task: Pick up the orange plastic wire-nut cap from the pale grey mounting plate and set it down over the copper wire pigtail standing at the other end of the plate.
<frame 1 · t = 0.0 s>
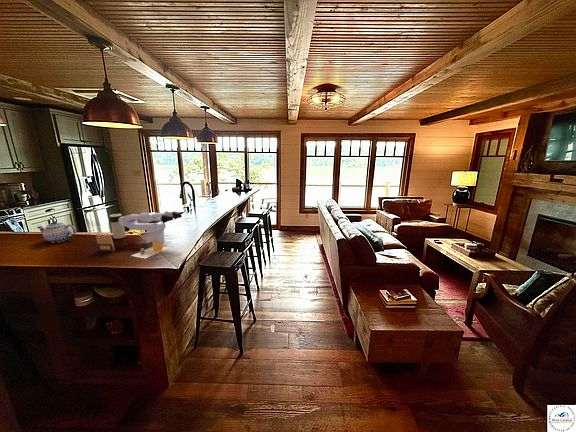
hand: (176, 217, 155), 22 cm above the countertop, tool horizontal, fingers open, 7 cm apart
teapot: (59, 240, 170), on the countertop
mounting plate: (151, 253, 148), on the countertop
travel mug: (119, 237, 178), on the countertop
wire nut cap: (158, 249, 151), point 1 cm above the countertop, touching mounting plate
tan upright slab: (106, 251, 153), on the countertop
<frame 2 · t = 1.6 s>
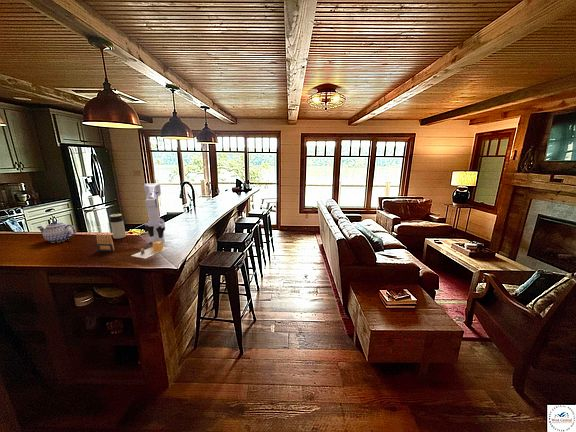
hand: (156, 237, 149), 10 cm above the countertop, tool pointing down, fingers open, 7 cm apart
nothing on the countertop moved.
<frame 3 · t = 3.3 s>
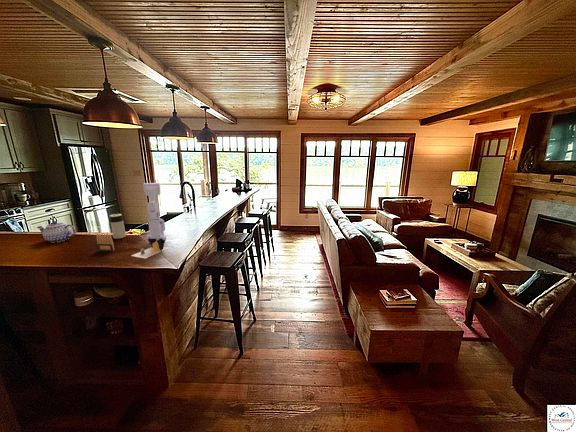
hand: (158, 248, 151), 2 cm above the countertop, tool pointing down, fingers closed on wire nut cap, 5 cm apart
wire nut cap: (158, 249, 151), point 1 cm above the countertop, touching gripper, mounting plate
everything else where it was.
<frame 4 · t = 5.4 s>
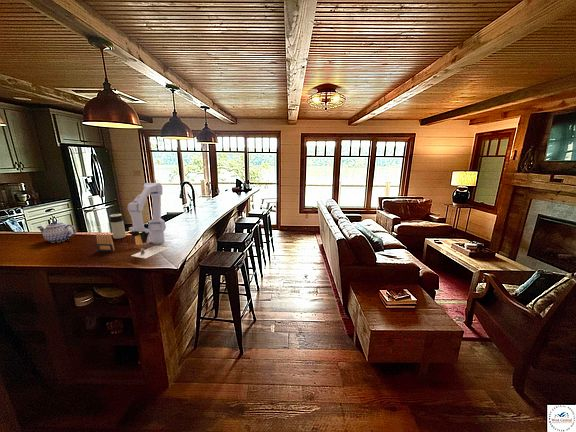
hand: (141, 242, 143), 9 cm above the countertop, tool pointing down, fingers closed on wire nut cap, 5 cm apart
wire nut cap: (141, 243, 143), point 9 cm above the countertop, touching gripper
everything else where it was.
when the fingers open (3 cm above the countertop, at t = 7.4 s): wire nut cap drops 1 cm, resting on mounting plate.
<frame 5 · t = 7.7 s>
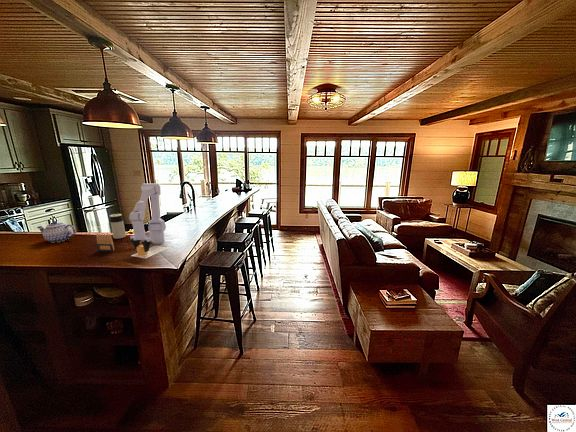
hand: (142, 250, 144), 3 cm above the countertop, tool pointing down, fingers open, 7 cm apart
wire nut cap: (142, 253, 145), point 1 cm above the countertop, touching mounting plate
everything else where it was.
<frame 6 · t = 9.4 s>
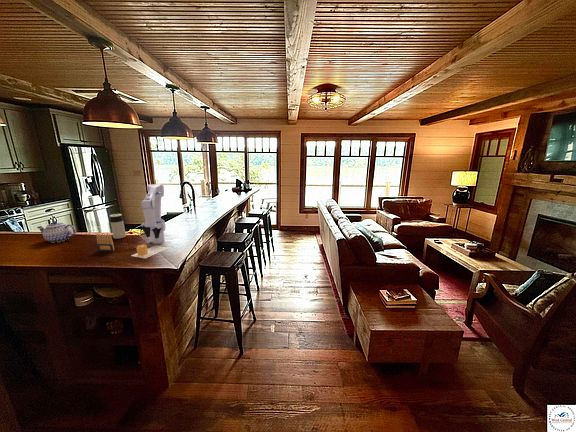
hand: (152, 237, 151), 9 cm above the countertop, tool pointing down, fingers open, 7 cm apart
nothing on the countertop moved.
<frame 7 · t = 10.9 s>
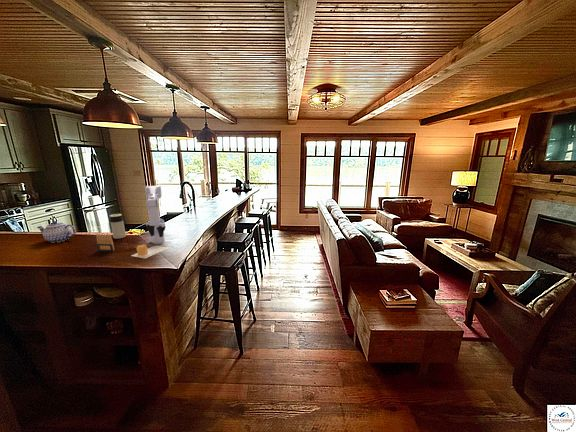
hand: (156, 236, 153), 9 cm above the countertop, tool pointing down, fingers open, 7 cm apart
nothing on the countertop moved.
at the end: wire nut cap 0.0 cm from the target spot on the mounting plate, point 1.5 cm above the mounting plate's base; wire nut cap tilted 0°; the gripper is holding nothing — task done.
